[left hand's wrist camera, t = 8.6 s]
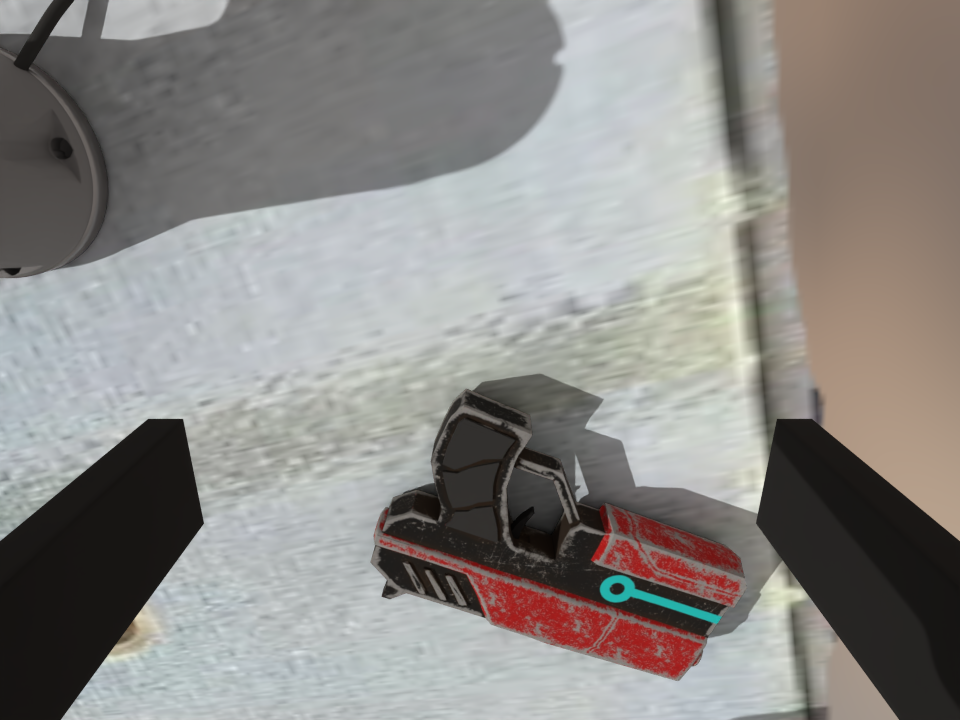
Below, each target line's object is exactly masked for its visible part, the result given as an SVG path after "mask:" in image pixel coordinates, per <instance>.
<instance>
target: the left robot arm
mask: <svg viewBox="0 0 960 720" xmlns="http://www.w3.org/2000/svg"><path fill="white" fill-rule="evenodd" d="M73 1H74V0H53V2H52V3H51V4H50V6H49V7H48V8H47V10H46V11H45V13H44V14H43V16H42V18H41V19H40V21H39V22H38V24H37V26H36V27H35V29H34V30H33V32H32V34H31V35H30V37H29V38H28V40H27V42H26V43H25V45H24V47H23V48H22V50H21V52H20V53H19V55H16V54H14V53H13V52H10V51H8V50H5V49H3V48H0V278H20V277H28V276H32V275H36V274H40V273H43V272H47V271H50V270H53V269H56V268H59V267H61V266H64V265H66V264H68V263H69V262H71V261H73V260H74V259H76V258H77V257H78V256H79V255H81V254H82V253H83V252H84V251H85V250H86V249H87V248H88V247H89V246H90V244H91V243H92V242H93V240H94V239H95V237H96V235H97V234H98V232H99V230H100V228H101V225H102V223H103V220H104V216H105V213H106V207H107V201H108V179H107V172H106V166H105V162H104V158H103V154H102V151H101V148H100V145H99V143H98V141H97V138H96V136H95V134H94V132H93V130H92V128H91V126H90V124H89V122H88V121H87V119H86V117H85V116H84V114H83V112H82V111H81V110H80V108H79V107H78V106H77V104H76V103H75V102H74V100H73V99H72V98H71V97H70V96H69V94H68V93H67V92H66V91H65V90H64V89H63V88H62V87H61V86H60V85H59V84H58V83H57V82H56V81H55V80H54V79H52V78H51V77H50V76H49V75H48V74H47V73H45V72H44V71H43V70H41V69H40V68H38V67H37V66H36V65H34V64H33V63H32V62H33V61H34V59H35V58H36V56H37V54H38V53H39V51H40V50H41V48H42V46H43V45H44V43H45V41H46V40H47V38H48V37H49V35H50V33H51V32H52V30H53V29H54V27H55V26H56V24H57V22H58V21H59V19H60V18H61V17H62V15H63V14H64V13H65V11H66V10H67V9H68V8H69V6H70V5H71V4H72V3H73ZM203 524H204V521H203V517H202V512H201V507H200V502H199V497H198V492H197V487H196V482H195V477H194V472H193V467H192V462H191V457H190V452H189V447H188V442H187V437H186V432H185V427H184V422H183V419H148V420H146V421H145V422H144V423H143V424H142V425H140V426H139V427H138V428H137V429H136V430H134V431H133V432H132V433H131V434H129V435H128V436H127V437H126V438H125V439H123V440H122V441H121V442H120V443H119V444H117V445H116V446H115V447H114V448H113V449H111V450H110V451H109V452H108V453H106V454H105V455H104V456H103V457H102V458H100V459H99V460H98V461H97V462H96V463H94V464H93V465H92V466H91V467H90V468H88V469H87V470H86V471H85V472H83V473H82V474H81V475H80V476H79V477H77V478H76V479H75V480H74V481H73V482H71V483H70V484H69V485H68V486H66V487H65V488H64V489H63V490H62V491H60V492H59V493H58V494H57V495H56V496H54V497H53V498H52V499H51V500H50V501H48V502H47V503H46V504H45V505H43V506H42V507H41V508H40V509H39V510H37V511H36V512H35V513H34V514H33V515H31V516H30V517H29V518H28V519H27V520H25V521H24V522H23V523H22V524H20V525H19V526H18V527H17V528H16V529H14V530H13V531H12V532H11V533H10V534H8V535H7V536H6V537H5V538H4V539H2V540H1V541H0V720H61V719H62V717H63V716H64V715H65V713H66V712H67V710H68V709H69V708H70V706H71V705H72V704H73V702H74V701H75V699H76V698H77V697H78V695H79V694H80V693H81V691H82V690H83V688H84V687H85V686H86V684H87V683H88V682H89V680H90V679H91V678H92V676H93V675H94V673H95V672H96V671H97V669H98V668H99V667H100V665H101V664H102V662H103V661H104V660H105V658H106V657H107V656H108V654H109V653H110V651H111V650H112V649H113V647H114V646H115V645H116V643H117V642H118V641H119V639H120V638H121V636H122V635H123V634H124V632H125V631H126V630H127V628H128V627H129V625H130V624H131V623H132V621H133V620H134V619H135V617H136V616H137V614H138V613H139V612H140V610H141V609H142V608H143V606H144V605H145V604H146V602H147V601H148V599H149V598H150V597H151V595H152V594H153V593H154V591H155V590H156V588H157V587H158V586H159V584H160V583H161V582H162V580H163V579H164V577H165V576H166V575H167V573H168V572H169V571H170V569H171V568H172V567H173V565H174V564H175V562H176V561H177V560H178V558H179V557H180V556H181V554H182V553H183V551H184V550H185V549H186V547H187V546H188V545H189V543H190V542H191V540H192V539H193V538H194V536H195V535H196V534H197V532H198V531H199V530H200V528H201V527H202V525H203ZM756 524H757V525H758V527H759V528H760V530H761V531H762V532H763V534H764V535H765V536H766V538H767V539H768V540H769V542H770V543H771V545H772V546H773V547H774V549H775V550H776V551H777V553H778V554H779V556H780V557H781V558H782V560H783V561H784V562H785V564H786V565H787V567H788V568H789V569H790V571H791V572H792V573H793V575H794V576H795V577H796V579H797V580H798V582H799V583H800V584H801V586H802V587H803V588H804V590H805V591H806V593H807V594H808V595H809V597H810V598H811V599H812V601H813V602H814V604H815V605H816V606H817V608H818V609H819V610H820V612H821V613H822V614H823V616H824V617H825V619H826V620H827V621H828V623H829V624H830V625H831V627H832V628H833V630H834V631H835V632H836V634H837V635H838V636H839V638H840V639H841V640H842V642H843V643H844V645H845V646H846V647H847V649H848V650H849V651H850V653H851V654H852V656H853V657H854V658H855V660H856V661H857V662H858V664H859V665H860V667H861V668H862V669H863V671H864V672H865V673H866V675H867V676H868V677H869V679H870V680H871V682H872V683H873V684H874V686H875V687H876V688H877V690H878V691H879V693H880V694H881V695H882V697H883V698H884V699H885V701H886V702H887V704H888V705H889V706H890V708H891V709H892V710H893V712H894V713H895V714H896V716H897V717H898V719H899V720H960V541H959V540H958V539H956V538H955V537H954V536H953V535H952V534H950V533H949V532H948V531H947V530H946V529H944V528H943V527H942V526H941V525H939V524H938V523H937V522H936V521H935V520H933V519H932V518H931V517H930V516H929V515H927V514H926V513H925V512H924V511H923V510H921V509H920V508H919V507H918V506H916V505H915V504H914V503H913V502H912V501H910V500H909V499H908V498H907V497H906V496H904V495H903V494H902V493H901V492H900V491H898V490H897V489H896V488H895V487H893V486H892V485H891V484H890V483H889V482H887V481H886V480H885V479H884V478H883V477H881V476H880V475H879V474H878V473H877V472H875V471H874V470H873V469H872V468H870V467H869V466H868V465H867V464H866V463H864V462H863V461H862V460H861V459H860V458H858V457H857V456H856V455H855V454H854V453H852V452H851V451H850V450H849V449H847V448H846V447H845V446H844V445H843V444H841V443H840V442H839V441H838V440H837V439H835V438H834V437H833V436H832V435H831V434H829V433H828V432H827V431H826V430H824V429H823V428H822V427H821V426H820V425H818V424H817V423H816V422H815V421H814V420H812V419H777V422H776V427H775V432H774V437H773V442H772V447H771V452H770V457H769V462H768V467H767V472H766V477H765V482H764V487H763V492H762V497H761V502H760V507H759V512H758V516H757V521H756Z"/></svg>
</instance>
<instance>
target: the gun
mask: <svg viewBox="0 0 960 720" xmlns="http://www.w3.org/2000/svg"><path fill="white" fill-rule="evenodd" d="M531 436H532V427H531V419H530V415H529V414H526V413H524V412H521V411H519V410H516V409H514V408H511V407H509V406H506V405H504V404H502V403H499V402H497V401H494V400H492V399H489V398H487V397H485V396H482V395H480V394H478V393H475V392H473V391H471V390H468V389H465V390H464V391H463V392H462V393H461V394H460V395H459V396H458V397H457V398H456V399H455V400H454V401H453V403H452V404H451V406H450V408H449V410H448V412H447V414H446V416H445V418H444V420H443V422H442V425H441V427H440V430H439V432H438V434H437V437H436V439H435V443H434V448H433V453H432V458H431V465H432V471H433V476H434V482H435V487H436V490H437V494H438V497H437V496H434V495H431V494H428V493H425V492H422V491H419V490H414V491H411V492H408V493H405V494H402V495H399V496H396V497H393V499H392V501H391V504H390V507H389V508H388V507H386V508H385V509H384V510H383V511H382V513H381V514H380V517H379V520H378V523H377V526H376V529H375V533H374V542H375V548H374V552H373V555H372V559H371V563H372V564H373V565H374V567H375V568H376V569H377V570H378V571H379V572H380V573H381V574H382V575H383V576H384V577H385V578H386V579H387V582H386V584H385V586H384V589H383V593H382V597H384V598H388V599H392V598H394V597H397V596H400V595H402V594H405V593H408V594H411V595H414V596H418V597H421V598H424V599H427V600H430V601H433V602H437V603H440V604H443V605H446V606H449V607H453V608H456V609H459V610H462V611H465V612H468V613H472V614H475V615H478V616H481V617H484V618H486V619H487V620H488V621H489V623H490V624H491V625H494V626H497V627H500V628H503V629H506V630H510V631H513V632H516V633H519V634H522V635H525V636H528V637H530V638H533V639H536V640H539V641H541V642H544V643H547V644H550V645H554V646H557V647H561V648H564V649H568V650H571V651H575V652H578V653H582V654H585V655H589V656H592V657H596V658H599V659H603V660H606V661H610V662H613V663H617V664H620V665H624V666H627V667H630V668H634V669H637V670H641V671H644V672H648V673H651V674H655V675H658V676H662V677H665V678H669V679H672V680H676V681H679V680H680V679H681V678H682V677H683V676H684V674H685V673H686V672H687V671H688V670H689V669H690V667H691V666H696V665H697V664H698V663H699V661H700V660H701V657H702V653H703V649H704V647H705V646H706V644H707V637H708V636H709V635H710V633H711V632H712V630H713V629H714V627H715V626H716V625H717V623H718V622H719V620H720V619H721V617H722V616H723V615H724V613H725V612H726V610H727V609H728V607H729V606H730V607H733V608H734V607H735V605H736V604H737V602H738V601H739V599H740V598H741V596H742V595H743V593H744V592H745V590H746V589H747V587H746V582H745V577H744V573H743V568H742V564H741V559H740V558H739V557H738V556H737V555H736V554H735V553H734V552H733V551H732V550H730V549H729V548H728V547H727V546H725V545H723V544H720V543H717V542H714V541H711V540H709V539H706V538H703V537H700V536H697V535H694V534H692V533H689V532H686V531H683V530H680V529H678V528H675V527H672V526H669V525H666V524H664V523H661V522H658V521H655V520H652V519H650V518H647V517H644V516H641V515H638V514H635V513H633V512H630V511H627V510H624V509H621V508H619V507H616V506H613V505H611V504H608V503H604V504H603V505H602V506H601V508H600V509H596V508H593V507H590V506H587V505H584V504H581V503H578V502H575V499H574V496H573V494H572V491H571V488H570V485H569V483H568V480H567V477H566V474H565V472H564V469H563V466H562V463H561V461H560V459H558V458H555V457H552V456H549V455H546V454H543V453H541V452H538V451H535V450H532V449H529V448H526V447H525V446H526V444H527V443H528V441H529V439H530V438H531ZM513 467H515V468H518V469H521V470H524V471H527V472H530V473H533V474H536V475H539V476H542V477H544V478H547V479H550V480H553V481H554V484H555V487H556V489H557V492H558V495H559V497H560V500H561V503H562V505H563V508H564V513H563V514H562V516H561V518H560V520H559V522H558V524H557V526H556V528H555V530H554V532H553V534H552V535H551V534H548V533H545V532H542V531H539V530H536V529H533V528H530V527H527V526H524V525H525V524H526V522H527V521H528V520H529V519H530V517H531V516H532V515H533V514H534V507H531V508H529V509H528V510H526V511H525V512H523V513H522V514H520V515H519V516H518V518H517V519H516V520H515V521H514V522H513V521H512V519H511V516H510V513H509V510H508V499H507V485H508V482H509V479H510V476H511V473H512V470H513Z"/></svg>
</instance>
